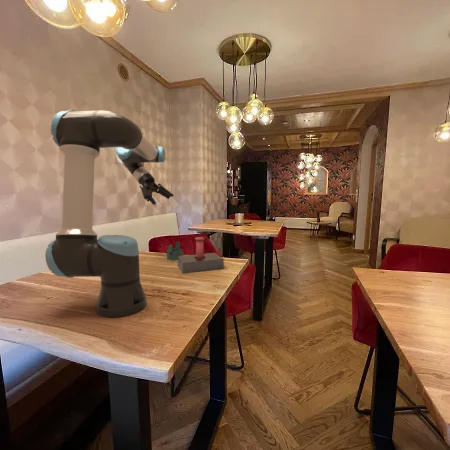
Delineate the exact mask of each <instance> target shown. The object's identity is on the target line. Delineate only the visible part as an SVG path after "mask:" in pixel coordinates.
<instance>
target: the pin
mask: <svg viewBox="0 0 450 450" xmlns="http://www.w3.org/2000/svg"><path fill="white" fill-rule="evenodd" d="M194 240H195V252H196V253H195V255H196V259H203V258H204V254H205V253H204V240H205V237H204V236H197V237H194Z"/></svg>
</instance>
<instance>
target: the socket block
mask: <svg viewBox="0 0 450 450" xmlns="http://www.w3.org/2000/svg"><path fill="white" fill-rule="evenodd" d="M224 262H225V259H224V258H223V257H222V256H220V255H218V254H217V253H216V252H208V253H204V258H203V259H196V254H188V255H184V254H183V256H178V260H177V267H178V268H179V270H180V271H181V274H191V273H200V272H208V271H209V272H210V271H218V270H225V268H224V267H225V265H224V264H225V263H224Z"/></svg>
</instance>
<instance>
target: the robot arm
mask: <svg viewBox="0 0 450 450" xmlns="http://www.w3.org/2000/svg"><path fill="white" fill-rule="evenodd" d="M50 133H51V136H52V140H53V142H54V143H55V145H56V146H58V147H59V148H58V150H59V151H60V152H61V153H62V154H63V155H64V158H63V159H64V160H63V162H64V164H63V185H62V186H63V189H62V190H63V191H62V215H61V216H62V217H61V229H60V230H59V231H58V232H57V233H55V240H53V241H51V242H49V243H48V245H47V247H46V249H45V253H44V254H45V255H44V258H45V262H46V266H47V268H48V270H49V271H51V273H52V274H53V275H55V276H56V277H65V278H69V279H70V278H75V277H76V278H81V277H83V278H88V277H89V278H92V277H95V278H97V277H100V285H101V287H100V290H99V293H98V298H97V301H96V312H97V314H98V315H99V316H101V317H105V318H119V317H127V316H129V315H133V314H135V313H138V312H140V311H142V310H143V309H144V308H145V307H146V306H147V295H146V294H145V291H144V288H143V286H142V283H141V277H140V258H139V257H140V251H139V245H138V244H139V243H138V241H137V239H135V238H134V237H131V236H128V235H122V234H104V235H103V234H102V235H100V236H99V237H98V234H97V233H96V232H95V231H94V230H93V229H94V228H93V222H94V221H93V220H94V219H93V218H94V217H93V216H94V189H95V188H94V187H95V186H94V185H95V183H94V182H95V159H97V158H98V157H100V154H101V153H100V149H105V148H106V149H107V148H115V153H116V155H117V157H118V158H119V160H120V161H121V163H122V165H123V166H124V167H125V168H126V169H127V171H129V173H130V174H131V175H132V177H134V180H136V181H137V183H139V184H138V185H139V186H138V187H139V188H140V190H141V192H142V193H141V194H142V196H143V199H144V200H146V202H150V203H151V204H152V205H153V207H154V208H155V209H156V210H157V211H158V212H159V211H161V209H162V205H161V203H160V202H159V201H158V200H157V199H156V197H155V196H153V193H156V194H159V195H161V196H163V197H164V198H166V199H168V200H167V201H168V202H169V203H170V204H171V206H172V207H173V208H174V209H175V210H177V208H178V207H179V206H180V205H179V204H178V202H177V201H176V200H175V199H174V198H173V197H174V194H173V193H172V192H171V191H169V190H168V189H167V188H166V187H164V186H163V185H162V183H158V184H157V183H156V182H155V178H154V176H153V175H152V174H151V173H150V171H149V170H148V169H147V168H146V167H145V165H143V163H158V164H159V163H165V161H166V150H165V148H164V147H163V146H161V145H160V146H159V145H157V146H155V145H154V143H152V142H151V141H150V140H149V139H148V138H147V137H146V136H145V135H144V134H143V132H142V130H141V128H140V127H139V126H138V125H137V124H136V123H135V122H134V121H133V120H131V119H130V118H128V117H126V116H123V115H121V114H119V113H117V112H115V111H111V110H106V109H103V110H101V109H100V110H96V109H95V110H92V109H91V110H89V109H88V110H75V109H69V110H61V111H58V112H57V113H56V114H55V115H54V116H53V118H52V119H51V123H50Z"/></svg>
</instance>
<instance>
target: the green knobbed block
mask: <svg viewBox="0 0 450 450" xmlns="http://www.w3.org/2000/svg"><path fill="white" fill-rule="evenodd" d="M180 243H181V242H180V241H176V242H175V247H173V245H172V244H169V245H168V247H167V248H168V249H166V260H167V259H168V261H178V256H184V250H182V248H180V247H181V246H180Z"/></svg>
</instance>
